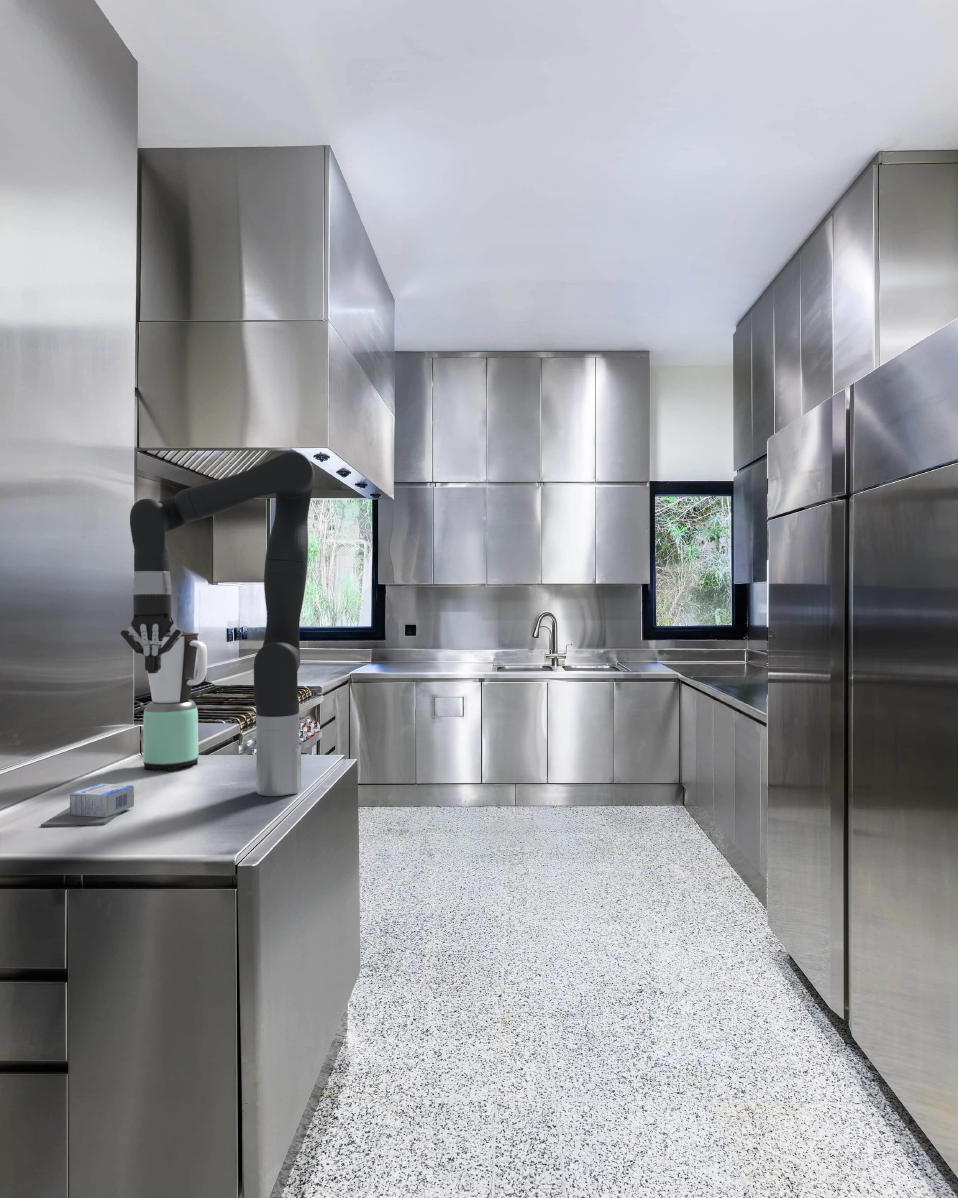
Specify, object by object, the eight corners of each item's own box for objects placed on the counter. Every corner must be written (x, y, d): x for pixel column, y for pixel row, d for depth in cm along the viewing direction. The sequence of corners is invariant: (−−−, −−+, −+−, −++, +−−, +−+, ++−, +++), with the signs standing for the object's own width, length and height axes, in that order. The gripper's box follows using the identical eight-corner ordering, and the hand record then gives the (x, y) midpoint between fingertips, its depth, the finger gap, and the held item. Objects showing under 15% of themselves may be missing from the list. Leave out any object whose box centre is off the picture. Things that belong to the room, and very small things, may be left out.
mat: (129, 807, 150) (129, 804, 150) (104, 825, 138) (104, 822, 138) (70, 809, 149) (70, 806, 149) (40, 827, 137) (40, 824, 137)
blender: (124, 770, 183) (124, 631, 183) (162, 759, 196) (161, 629, 196) (188, 775, 177) (187, 631, 177) (222, 763, 190) (222, 629, 190)
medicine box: (107, 795, 141) (68, 792, 142) (107, 818, 141) (68, 815, 142) (134, 785, 148) (98, 782, 150) (134, 807, 148) (97, 804, 150)
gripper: (189, 592, 161) (189, 670, 161) (126, 593, 160) (127, 672, 160) (178, 592, 154) (179, 674, 154) (113, 592, 153) (114, 675, 153)
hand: (152, 673), depth 157 cm, fingers closed
